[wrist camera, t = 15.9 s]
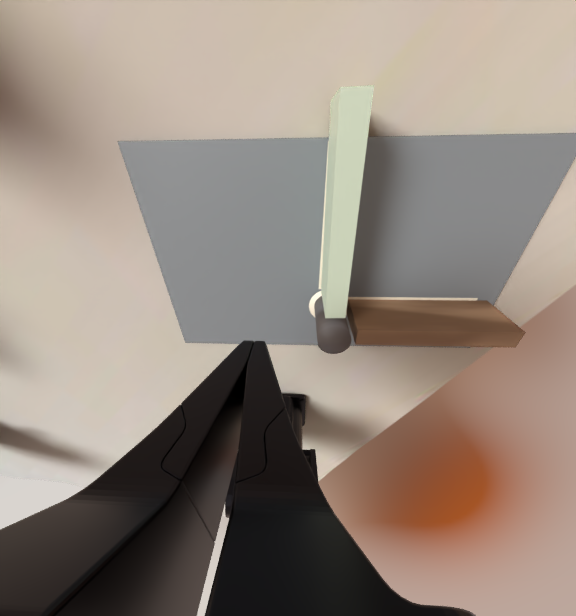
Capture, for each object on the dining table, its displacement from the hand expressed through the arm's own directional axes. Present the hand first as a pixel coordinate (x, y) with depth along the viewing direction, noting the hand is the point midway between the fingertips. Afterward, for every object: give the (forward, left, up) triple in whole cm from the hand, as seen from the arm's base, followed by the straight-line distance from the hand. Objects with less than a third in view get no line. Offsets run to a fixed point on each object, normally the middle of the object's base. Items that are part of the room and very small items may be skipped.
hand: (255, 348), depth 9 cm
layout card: (-2, -4, -13) cm, 14 cm away
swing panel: (+2, -4, -12) cm, 13 cm away
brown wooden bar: (-6, -11, -12) cm, 18 cm away
